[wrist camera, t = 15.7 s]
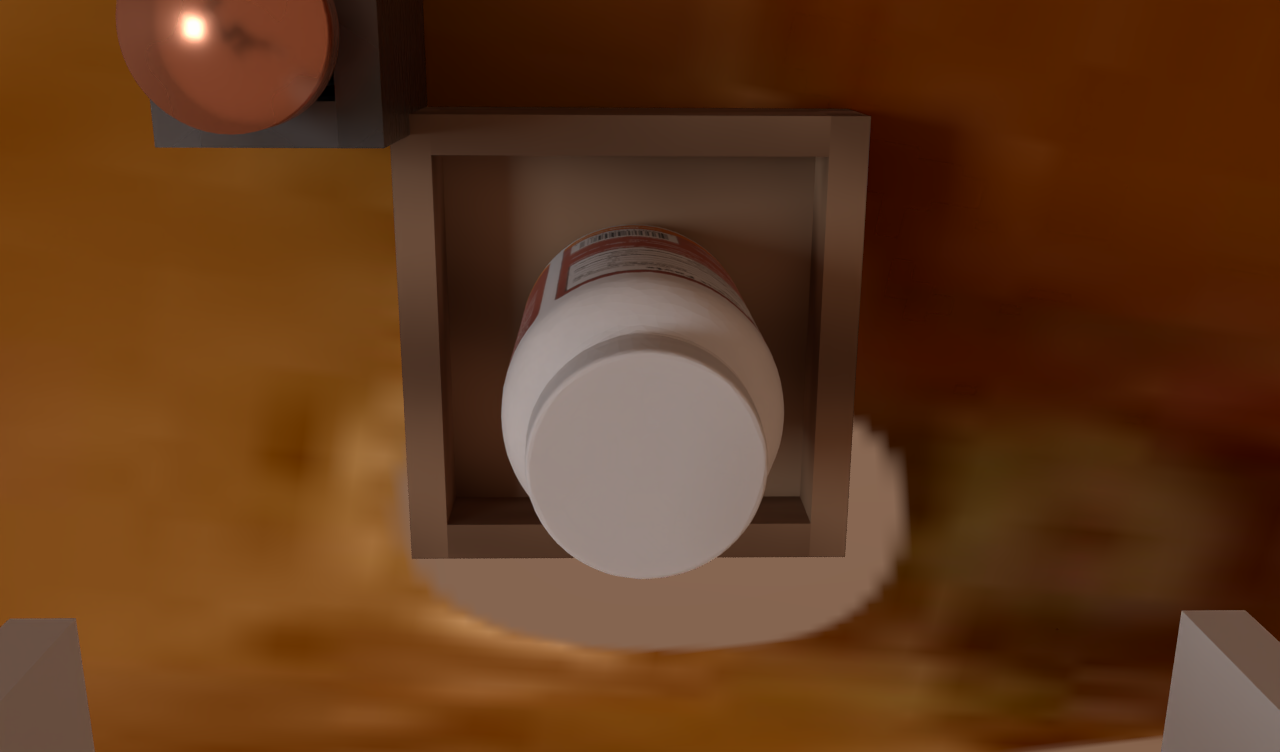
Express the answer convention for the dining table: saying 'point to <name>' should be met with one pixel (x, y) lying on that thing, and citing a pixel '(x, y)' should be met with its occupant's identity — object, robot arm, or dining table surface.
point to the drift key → (230, 58)
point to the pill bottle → (641, 403)
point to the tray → (604, 197)
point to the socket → (343, 88)
